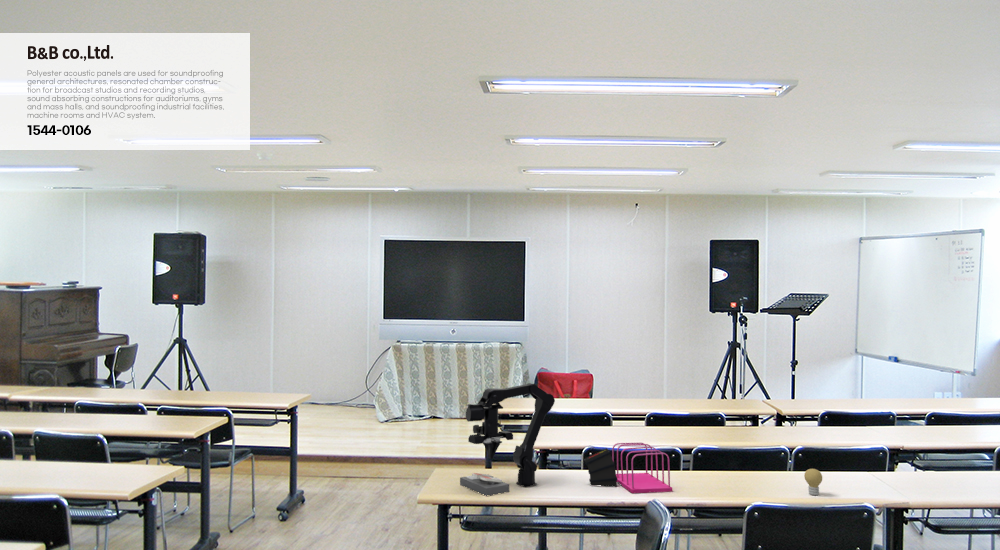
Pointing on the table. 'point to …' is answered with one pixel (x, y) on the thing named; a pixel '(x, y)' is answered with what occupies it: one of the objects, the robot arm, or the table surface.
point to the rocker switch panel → (484, 485)
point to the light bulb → (813, 480)
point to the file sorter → (642, 480)
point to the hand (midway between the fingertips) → (490, 458)
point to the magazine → (601, 469)
